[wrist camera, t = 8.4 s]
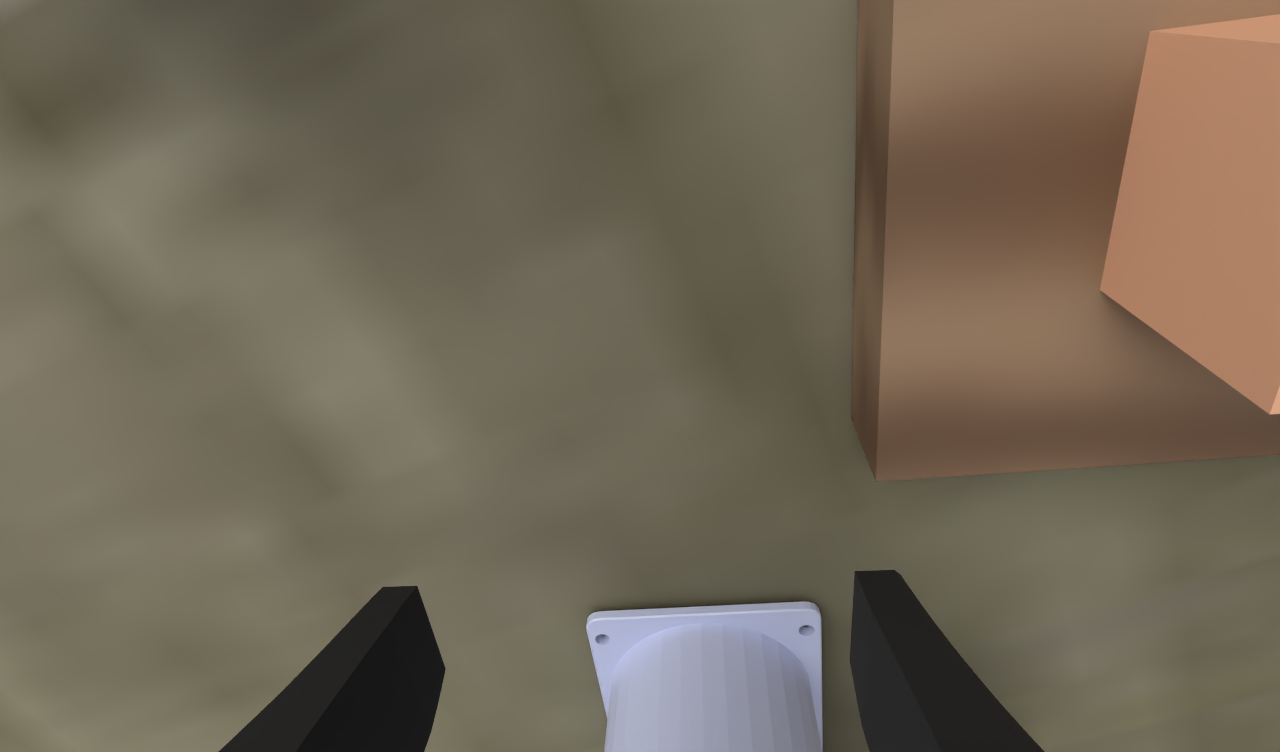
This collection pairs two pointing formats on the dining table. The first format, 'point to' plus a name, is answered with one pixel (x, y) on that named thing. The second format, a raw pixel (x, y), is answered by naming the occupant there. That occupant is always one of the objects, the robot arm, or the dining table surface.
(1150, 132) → the terracotta cube
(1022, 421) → the walnut base
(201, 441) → the dining table surface
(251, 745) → the robot arm
